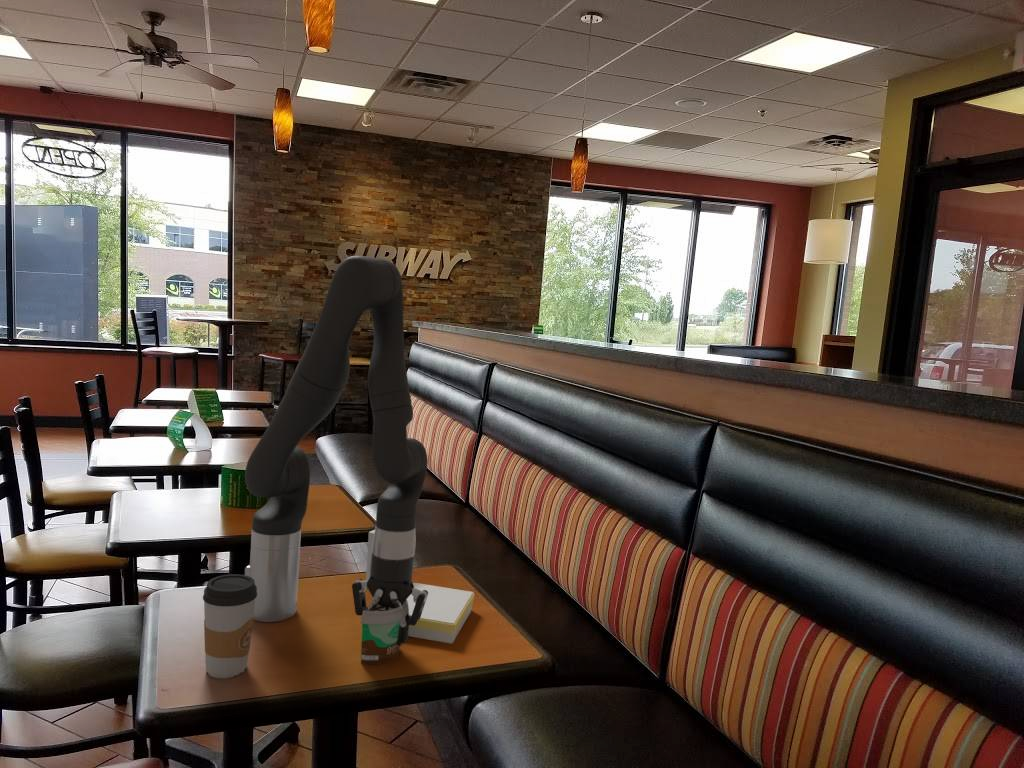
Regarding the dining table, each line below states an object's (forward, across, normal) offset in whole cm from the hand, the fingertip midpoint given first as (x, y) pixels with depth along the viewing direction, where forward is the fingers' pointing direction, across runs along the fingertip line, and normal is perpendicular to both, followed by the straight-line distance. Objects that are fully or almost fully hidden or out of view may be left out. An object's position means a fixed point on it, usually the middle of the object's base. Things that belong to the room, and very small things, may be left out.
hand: (385, 640), depth 126 cm
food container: (+3, +1, 0) cm, 3 cm away
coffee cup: (+3, -22, -14) cm, 27 cm away
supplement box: (+3, -10, +30) cm, 32 cm away
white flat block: (+2, +4, +16) cm, 16 cm away
